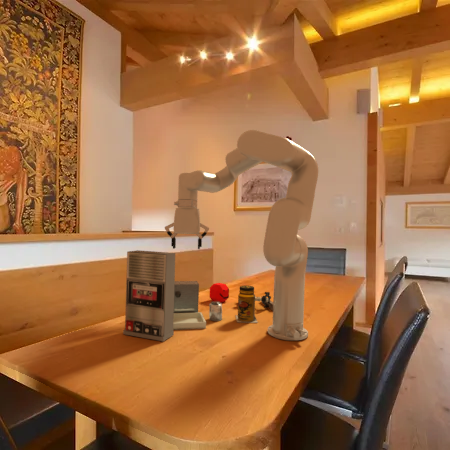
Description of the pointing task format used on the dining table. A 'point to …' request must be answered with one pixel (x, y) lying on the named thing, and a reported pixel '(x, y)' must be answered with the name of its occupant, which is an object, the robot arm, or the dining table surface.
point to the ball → (219, 292)
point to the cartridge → (215, 311)
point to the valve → (264, 299)
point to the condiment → (246, 305)
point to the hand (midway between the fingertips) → (186, 248)
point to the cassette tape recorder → (150, 294)
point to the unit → (186, 296)
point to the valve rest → (269, 304)
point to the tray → (188, 321)
